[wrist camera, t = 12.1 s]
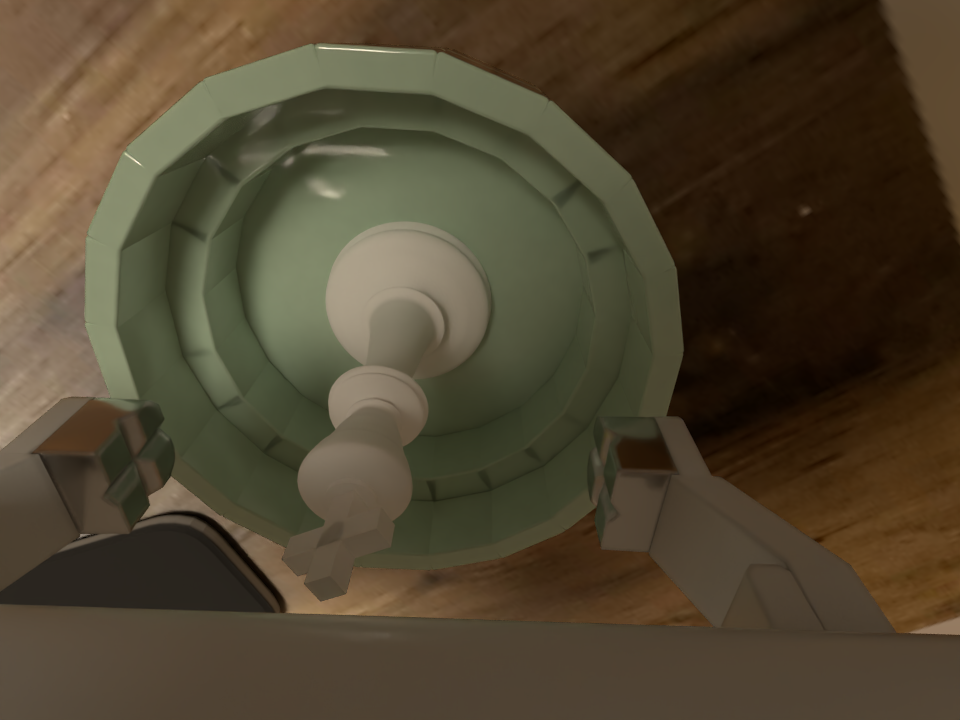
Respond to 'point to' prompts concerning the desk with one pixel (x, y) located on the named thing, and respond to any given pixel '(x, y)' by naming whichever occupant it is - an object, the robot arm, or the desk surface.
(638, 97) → the desk surface
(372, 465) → the chess piece
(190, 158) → the bowl
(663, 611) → the desk surface
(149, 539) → the smartphone
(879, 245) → the desk surface
